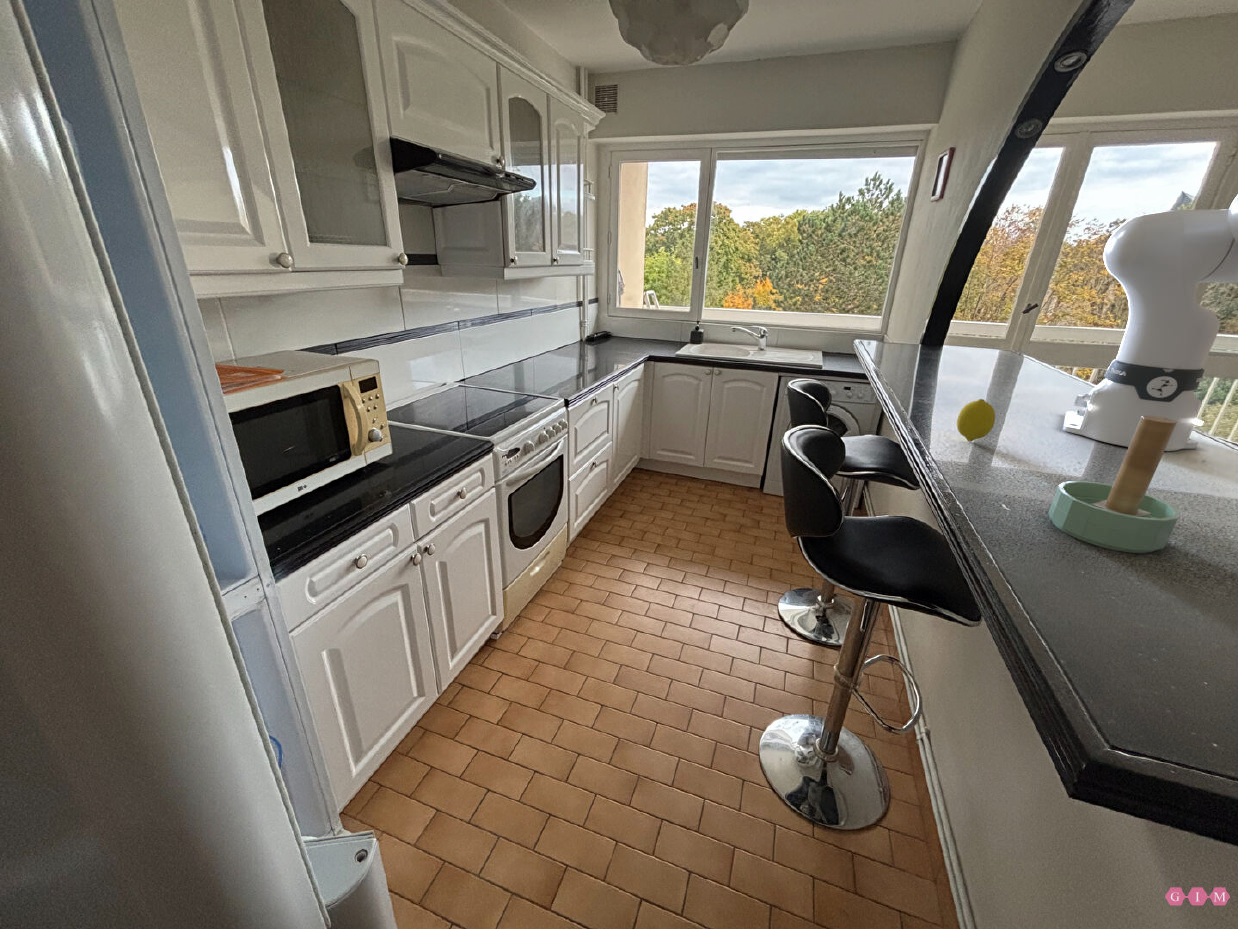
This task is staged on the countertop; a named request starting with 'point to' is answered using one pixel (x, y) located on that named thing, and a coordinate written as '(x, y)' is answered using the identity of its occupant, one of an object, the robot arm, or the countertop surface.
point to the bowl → (1111, 519)
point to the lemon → (976, 420)
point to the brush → (1139, 466)
